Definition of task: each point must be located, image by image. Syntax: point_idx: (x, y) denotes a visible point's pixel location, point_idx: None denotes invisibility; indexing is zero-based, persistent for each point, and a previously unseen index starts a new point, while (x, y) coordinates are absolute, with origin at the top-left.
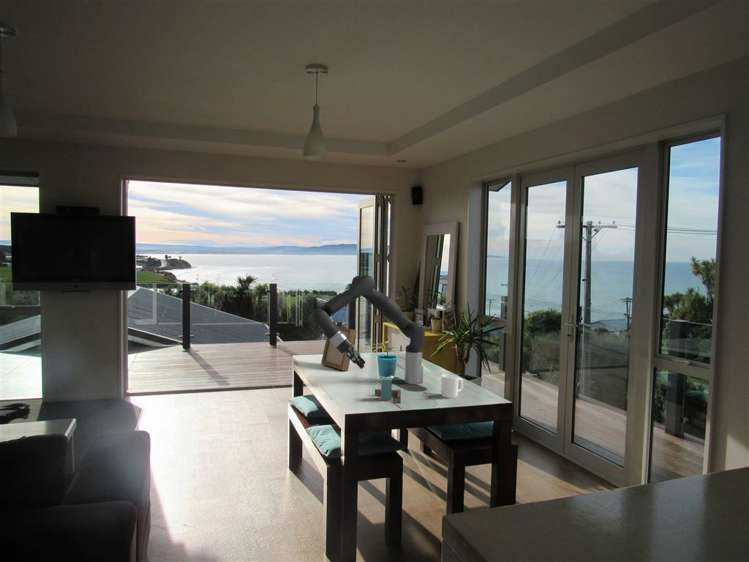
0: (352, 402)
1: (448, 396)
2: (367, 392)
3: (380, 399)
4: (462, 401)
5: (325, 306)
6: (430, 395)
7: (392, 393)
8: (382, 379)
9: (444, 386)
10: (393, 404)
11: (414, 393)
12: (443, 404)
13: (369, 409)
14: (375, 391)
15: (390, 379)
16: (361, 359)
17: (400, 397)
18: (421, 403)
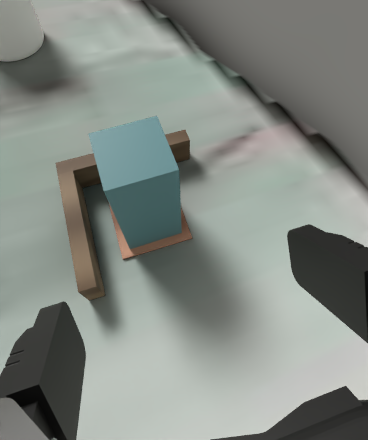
0: (298, 363)
1: (43, 34)
2: None
3: (173, 238)
4: (73, 7)
5: None
6: (22, 90)
7: (82, 202)
8: (171, 165)
9: (18, 7)
10: (217, 166)
11: (3, 144)
12: (132, 37)
13: (353, 229)
14: (98, 285)
15: (147, 125)
16: (56, 366)
17: (185, 131)
18: (151, 89)
